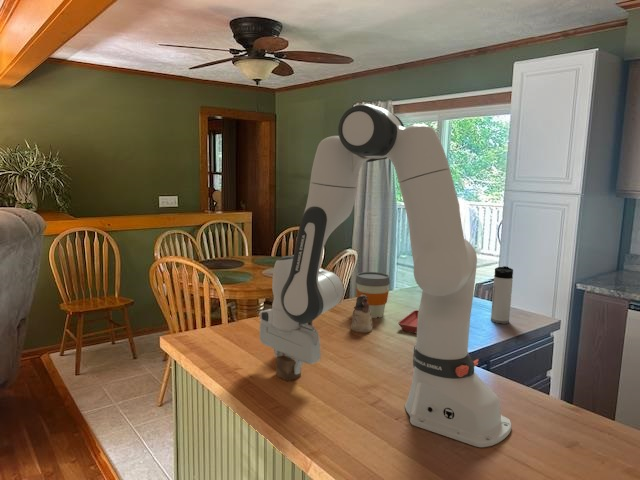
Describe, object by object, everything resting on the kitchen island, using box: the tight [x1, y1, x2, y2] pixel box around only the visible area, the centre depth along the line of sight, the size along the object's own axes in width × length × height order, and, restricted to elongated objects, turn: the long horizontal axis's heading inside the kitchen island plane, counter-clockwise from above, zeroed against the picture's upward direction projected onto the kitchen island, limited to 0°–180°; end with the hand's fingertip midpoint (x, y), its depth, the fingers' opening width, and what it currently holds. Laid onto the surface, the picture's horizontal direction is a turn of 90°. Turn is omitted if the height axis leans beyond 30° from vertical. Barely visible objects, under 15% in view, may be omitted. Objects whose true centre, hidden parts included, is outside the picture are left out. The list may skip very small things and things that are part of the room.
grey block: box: [275, 354, 302, 382], centre depth 122 cm, size 4×4×5 cm
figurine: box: [350, 295, 373, 334], centre depth 160 cm, size 7×7×12 cm
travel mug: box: [490, 265, 514, 325], centre depth 173 cm, size 6×7×20 cm
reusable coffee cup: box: [355, 271, 391, 319], centre depth 178 cm, size 13×13×15 cm
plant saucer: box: [398, 309, 419, 334], centre depth 164 cm, size 18×18×3 cm
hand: (288, 369), depth 123 cm, fingers closed on grey block, 4 cm apart
